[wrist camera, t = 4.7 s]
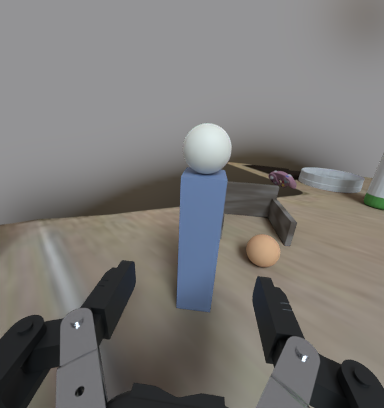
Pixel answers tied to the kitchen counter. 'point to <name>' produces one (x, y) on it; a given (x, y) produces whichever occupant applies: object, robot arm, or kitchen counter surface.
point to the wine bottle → (376, 188)
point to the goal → (259, 206)
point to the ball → (263, 250)
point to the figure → (201, 214)
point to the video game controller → (282, 179)
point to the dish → (331, 180)
